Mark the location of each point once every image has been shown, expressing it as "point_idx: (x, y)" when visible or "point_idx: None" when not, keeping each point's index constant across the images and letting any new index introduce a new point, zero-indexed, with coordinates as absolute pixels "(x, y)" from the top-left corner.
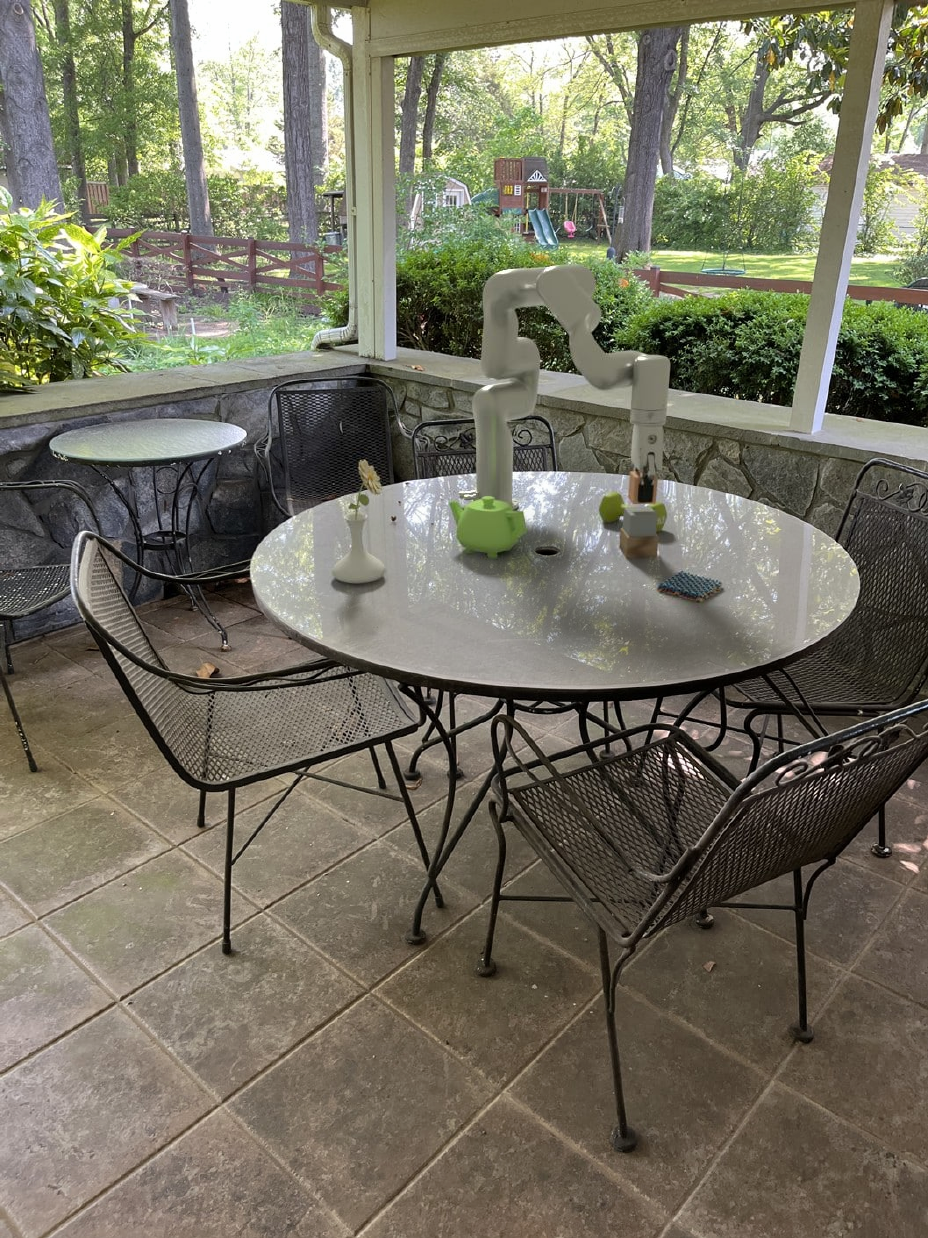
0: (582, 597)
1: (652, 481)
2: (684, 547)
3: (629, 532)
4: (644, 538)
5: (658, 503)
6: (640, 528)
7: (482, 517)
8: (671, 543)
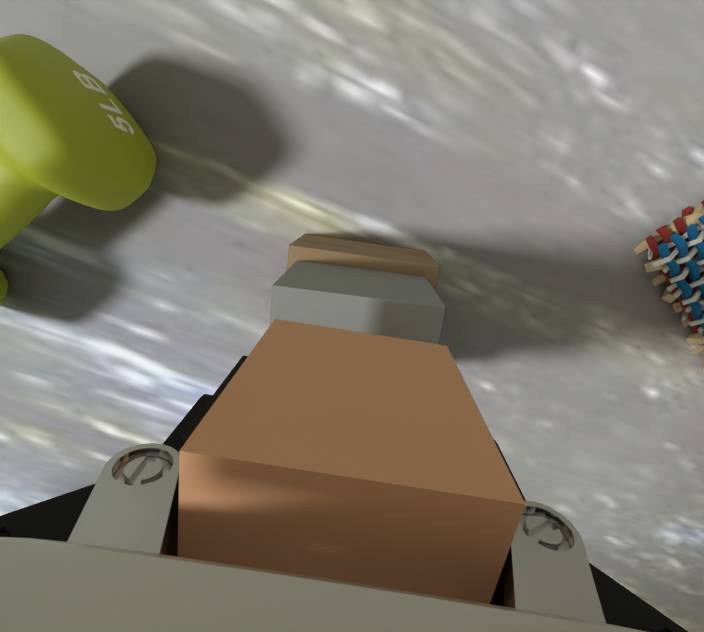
0: (652, 567)
1: (636, 598)
2: (342, 80)
3: None
4: None
5: (6, 94)
6: None
7: None
8: (282, 119)
